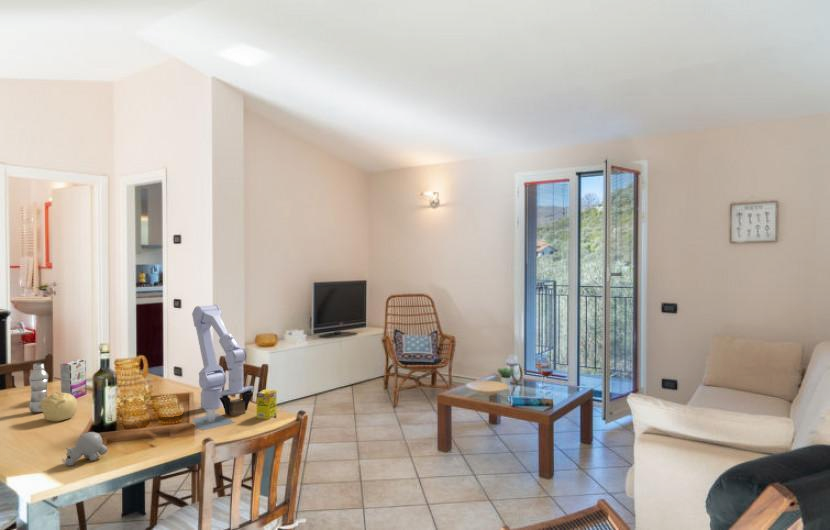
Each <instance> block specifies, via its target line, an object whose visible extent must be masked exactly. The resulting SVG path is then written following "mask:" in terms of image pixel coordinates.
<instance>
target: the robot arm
mask: <svg viewBox="0 0 830 530" xmlns="http://www.w3.org/2000/svg"><path fill="white" fill-rule="evenodd" d="M191 315H192V319H193V325H194V327H195V329H196V333H197V334H196V335H197V340H198V345H199V349H200V354H201V359H202V364H203V368H202V369H201V370H199V372H198V384H199V387H200V388H201V389H202V390H201V392H200V407H198V409H199V410H201V409H204V410H205V411H206V408H211V407H212V408H215V410H219V409H221V408H222V407H223V409H224V413H225V415H229V404H230V400H231V398H230V397H229V396H234V395H238V394H241V397H242V400H243V401H245V412H246V411H248V408H249V403H250V401H251V399H252V397H253V395H254V394H253V392H254V391H255V387H254V386H253V385H249V386H244V362H245V361H246V360H247V353H246V350H245V349H246V348H243V347H241V346H240V345H239V344H238V342H237V341H236V339H235V338H234V336H233V334H231V333H229V332H228V331H227V328H226V326H225V324H224V322H223V320H222V310H221V308H220V306H219V304H213V305H212V304H211V305H203V306H202V305H201V306H199V305H197V306H195V307H194V308H193V311H192V313H191ZM211 327H212V328H213V330H214V331H215V332H216V334H217V335H218V337H219V339H218V341H219V344H220V346H221V348H222V350H223V352H224V354H225V356H224V359H225V362H226V367H227V369H228V388H227V389H225V390H223V388H224V386H225V385H226V384H227V383H226V382H227V376H226V375H227V374H226V373H225V371H224V368H223V367H222V366H221V365H220V364H218V363H217V358H216V354H215V353H216V352H215V347H214V344H213V337H212V334H211V329H210V328H211Z"/></svg>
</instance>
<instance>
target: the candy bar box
mask: <svg viewBox="0 0 830 530" xmlns="http://www.w3.org/2000/svg"><path fill="white" fill-rule="evenodd" d="M86 360H87V359H86V358H85V359H78V358H76V359H72V360H70V361H68V362H64V363H61V364H60V367H59V368H60V393H69V394H71V395H73V396H74V397H75V398H76V399H77V398H80V397H82V396H85V395H86V394H87V393H88V392H87V369H86V368H87V365H86V363H87V361H86Z"/></svg>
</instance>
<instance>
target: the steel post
mask: <svg viewBox="0 0 830 530" xmlns="http://www.w3.org/2000/svg"><path fill="white" fill-rule="evenodd" d="M215 414H216V409H215V408H212V407H211V408H206V410H205V416H206V422H207V423H211V422H215Z"/></svg>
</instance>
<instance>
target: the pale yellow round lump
mask: <svg viewBox="0 0 830 530" xmlns="http://www.w3.org/2000/svg"><path fill="white" fill-rule="evenodd" d="M40 404H41V409H42V411H43V412H42V413H43V414H42V415H43V417H44V419H45V420H46V421H49V422H57V423H58V422H61V421H65V420H68V419H70V418H72V417H73V416H75V415H76V413H77V411H78V408H79V406H78V405H79V404H78V400H77V398H75V397H74V396H73V395H71V394H69V393H61V391H60V392H59V391H57V392H54V393H52V394H49V395H47V396H46V397H45V398H44V399H42V400H41V402H40Z"/></svg>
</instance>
